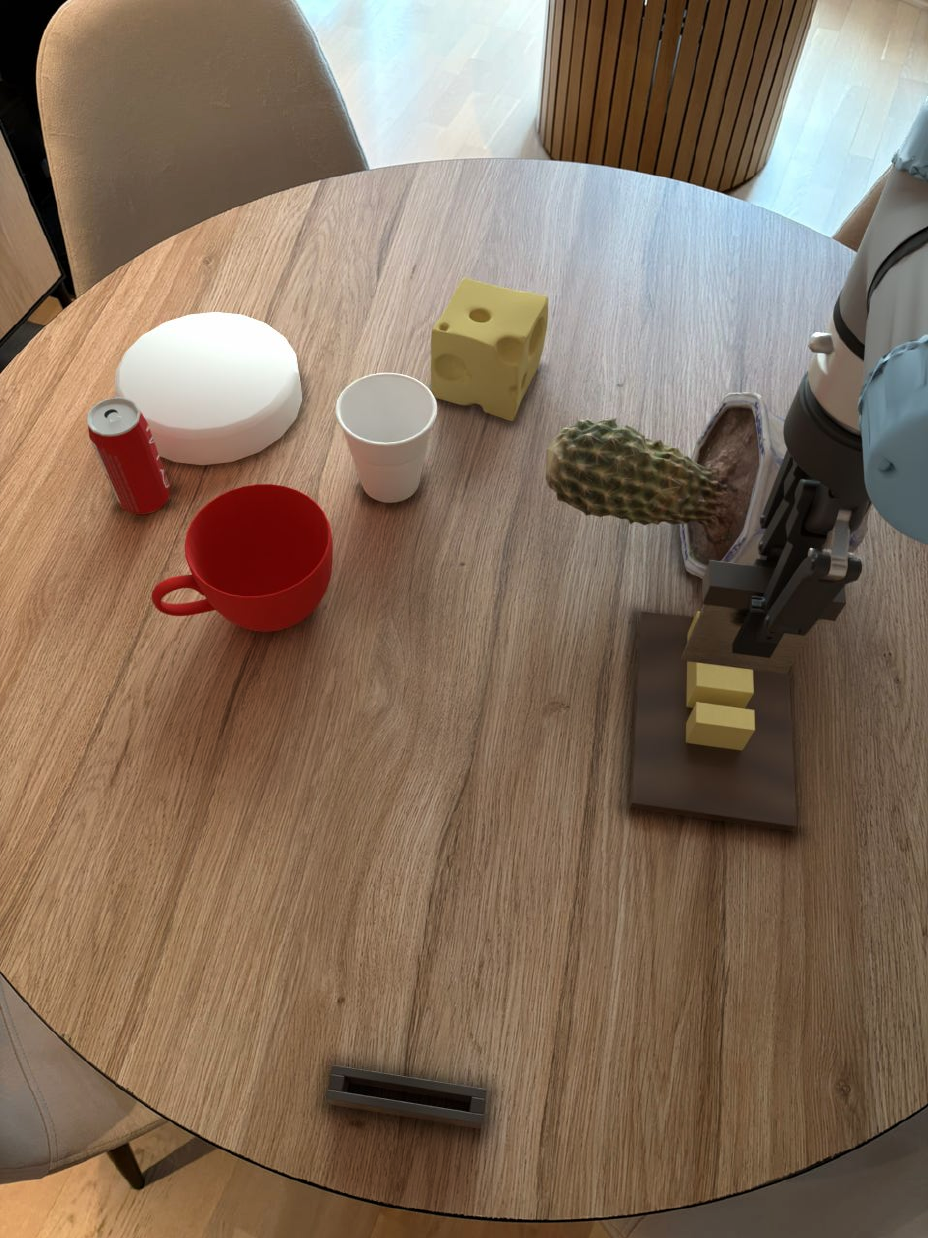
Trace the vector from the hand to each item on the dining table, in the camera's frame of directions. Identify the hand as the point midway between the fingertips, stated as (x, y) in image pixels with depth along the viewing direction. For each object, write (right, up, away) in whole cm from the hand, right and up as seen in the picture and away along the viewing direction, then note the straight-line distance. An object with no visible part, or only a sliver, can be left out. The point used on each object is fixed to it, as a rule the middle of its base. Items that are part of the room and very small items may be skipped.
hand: (750, 633), depth 69 cm
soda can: (-54, +14, +31) cm, 64 cm away
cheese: (-18, +28, +41) cm, 53 cm away
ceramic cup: (-41, +2, +23) cm, 47 cm away
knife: (0, -3, +4) cm, 5 cm away
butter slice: (+1, -9, +15) cm, 18 cm away
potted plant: (+2, +9, +29) cm, 30 cm away
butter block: (+2, -4, +19) cm, 20 cm away
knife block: (-25, -34, 0) cm, 42 cm away
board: (+2, -8, +18) cm, 20 cm away
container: (-49, +26, +39) cm, 68 cm away
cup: (-29, +15, +32) cm, 46 cm away
